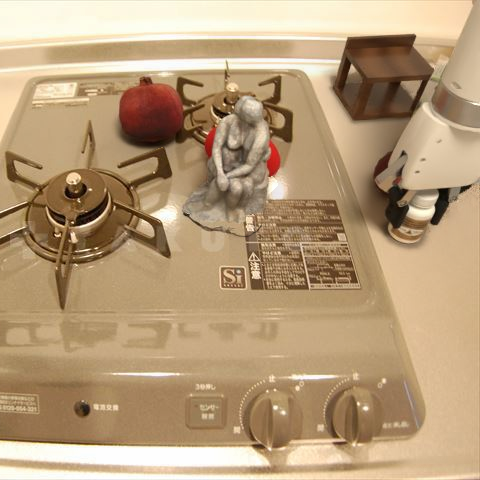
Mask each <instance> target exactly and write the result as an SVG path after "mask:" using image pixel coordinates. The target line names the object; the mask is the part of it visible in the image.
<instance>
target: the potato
mask: <svg viewBox="0 0 480 480" xmlns="http://www.w3.org/2000/svg"><path fill="white" fill-rule="evenodd" d="M393 151H394V150H391V151H388V152H386V153H385V154H384V155H383V156H382V157H380V158H379V159H378V161H377V163H376V165H375V167H374V171H373V174H372V180H373V183H374V186H375V188H376V189H377V191H378V192H379V193H380V194H382V195H383V196H385V197H386V198H390V199H391V196H390V195H389V193H387V192H385V191H384V190H382V189H381V188H379V187H378V185H377V183H376V182H375V178H376V177H377V176H378V175H379V174H380V173H382V172H383V171H384V170H385V169H387V168H388V163H389V160H390V158H391V155H392V153H393ZM397 179H398V178H397ZM397 179H395V180H394V181H393V182H394V183H395V181H396V180H397ZM405 190H406V189H404V188H402V190H401V191H402V192H404V191H405Z"/></svg>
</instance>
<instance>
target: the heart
mask: <svg viewBox="0 0 480 480" xmlns="http://www.w3.org/2000/svg"><path fill="white" fill-rule="evenodd" d="M216 128H217V125H216V126H214V127H212V129H210V131H209V132H208V133H207V134H206V137H205V140H204V151H205V154H206V156H207V158H208V160H209V159H210V158H211V155H212V147H213V141H214V136H215V132H216ZM269 147H270V148H271V155H270V158H269V159H268V160H267V168H268V170H269V176H268V177H270V178H272V177H273V176H275V175H276V174H277V173H278V171H279V169H280V167H281V161H282V160H281V154H280V152H279V150H278V148H277V146H276V145H275V143H274V142H273V141H272V139H270V141H269ZM271 176H272V177H271Z"/></svg>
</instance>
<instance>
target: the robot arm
mask: <svg viewBox="0 0 480 480" xmlns="http://www.w3.org/2000/svg"><path fill="white" fill-rule="evenodd" d="M471 3H472V7H471V10H470V11H469V14H468V16H467V18H466V20H465V22H464V25H463V27H462V29H461V32H460V34H459V36H458V39H457V41H456V43H455V45H454V48H453V50H452V52H451V54H450V56H449V59H448V61H447V63H446V64H447V65H446V68H445V70H444V72H443V74H442V77H441V79H440V81H439V83H438V86H437V88H436V90H435V92H434V95H433V97H432V99H431V101H429V102H424V103H423V104H422V105H421V106H420V108H419V109H418V110H417V112H416V113H415V114H414V116H413V117H412V116H411V118H412V119H411V118H410V120H409V121H408V123H407V125H406V127H405V128H404V130H403V132H402V133H401V135H400V137H399V139H398V141H397V143H396V145H395V146H394V149H393V150H392V151H393V153H392V155H391V158H390V160H389V163H388V168H387V169H385V170H384V171H383V172H382V173H380V174H379V175H378V176H377V177H376V178H375V182H376V183H377V185H378V187H379V188H381V189H382V190H384V191H385V192H387V193H389V195H390V196H391V198H390V199H389V201H388V204H387V205H386V208H385V210H384V216H385V218H386V219H387V221H389V223H391V225H392V226H393V228H394V229H398V228H399V227H401V225H402V223H403V221H404V219H405V217H406V215H407V213H408V210H409V205H408V202H409V201H410V200H411V199H412V197H413V196H414V195H415V193H416V192H417V191H418V190H424V189H437V190H438V192H439V196H438V198H437V201H436V203H435V204H434V206H435V212H434V215H433V217H432V218H431V220H430V222H429V224H430V225H432V226H438V225H439V224H440V222H441V220H442V218H443V216H444V214H445V213H446V211H447V209H448V208H449V206H450V204H451V203H455V202H457V200H458V199H459V197H460V195H461V194H463V193H465V192H466V191H468V190H469V189H471V188H472V187H473V186H474V185H476V184H478V183H480V0H471ZM397 178H398V179H397ZM395 179H397V180H396V181H395V183H394V182H393V181H394V180H395ZM402 188H404V189H406V190H405V191H404V192H402V191H401V190H402Z"/></svg>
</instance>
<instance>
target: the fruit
mask: <svg viewBox="0 0 480 480" xmlns="http://www.w3.org/2000/svg"><path fill="white" fill-rule="evenodd" d="M138 80H139V84H137V85H135V86H132V87H129V88H127V89H126V90H125V91H124V92H123V93H122V94H121V96H120V99H119V103H118V105H119V106H118V107H119V108H118V118H119V122H120V126H121V129H122V131H123V133H125V135H126V136H127V137H128V138H130V139H132V140H134V141H138V142H151V143H155V142H159V141H162V140H167V139H169V138H171V137H173V136H174V135H176V134H177V133H179V131H180V129H181V128H182V126H183V124H184V120H185V115H184V116H183V111H184V106H183V101H182V99H181V96H180V94H179V92H178V91H177V90H176V89H175V88H174V87H173V86H172V85H170V84H167V83H162V82H153V80H152V77H151V76H141V77H139V79H138ZM184 112H185V111H184ZM183 119H184V120H183Z"/></svg>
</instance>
